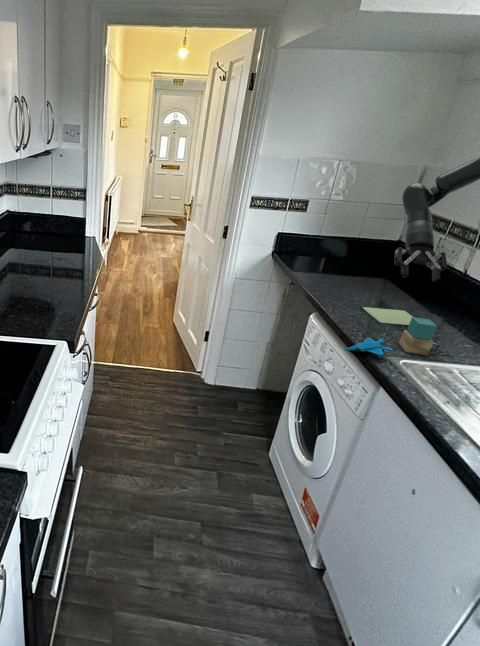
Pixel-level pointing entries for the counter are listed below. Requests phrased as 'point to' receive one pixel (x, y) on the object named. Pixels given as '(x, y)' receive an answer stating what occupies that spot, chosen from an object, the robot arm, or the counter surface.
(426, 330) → the top cube
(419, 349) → the base block
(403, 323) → the mat
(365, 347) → the toy airplane
